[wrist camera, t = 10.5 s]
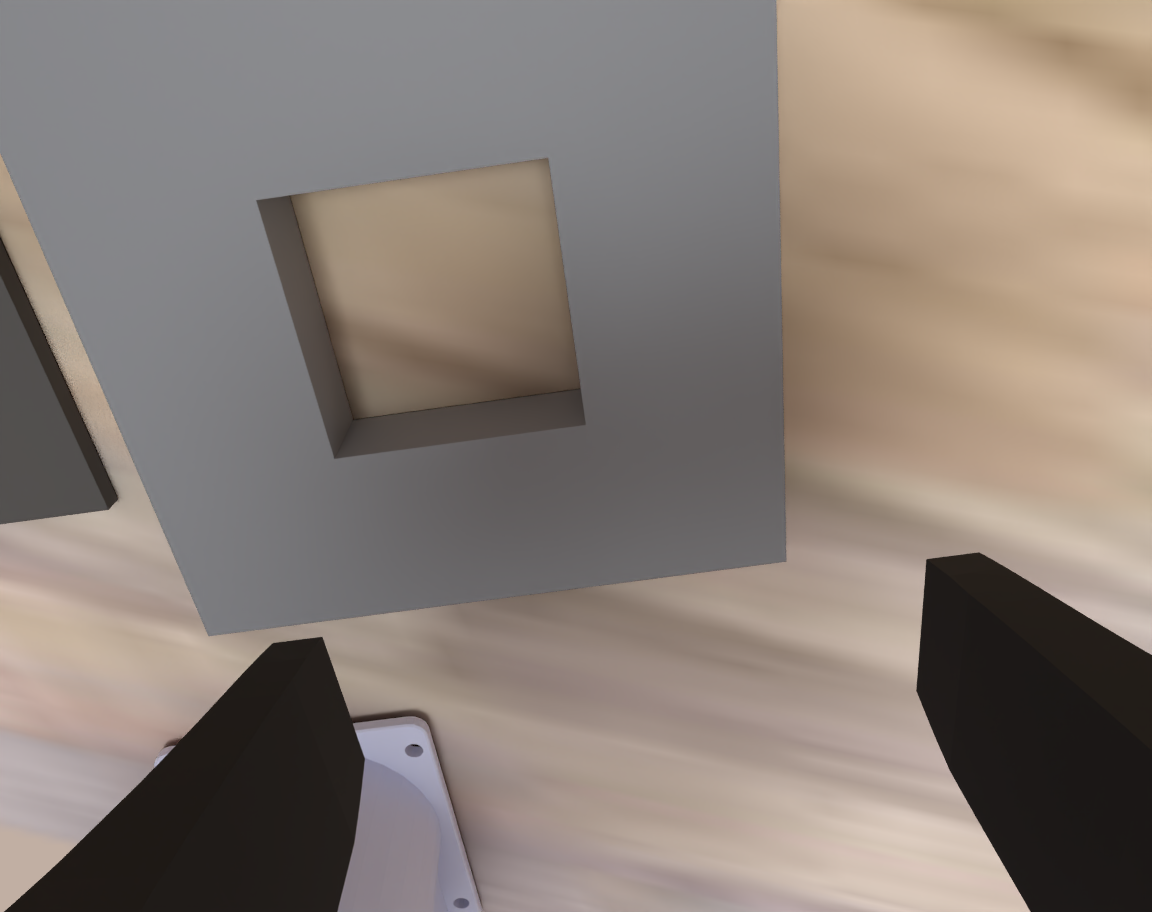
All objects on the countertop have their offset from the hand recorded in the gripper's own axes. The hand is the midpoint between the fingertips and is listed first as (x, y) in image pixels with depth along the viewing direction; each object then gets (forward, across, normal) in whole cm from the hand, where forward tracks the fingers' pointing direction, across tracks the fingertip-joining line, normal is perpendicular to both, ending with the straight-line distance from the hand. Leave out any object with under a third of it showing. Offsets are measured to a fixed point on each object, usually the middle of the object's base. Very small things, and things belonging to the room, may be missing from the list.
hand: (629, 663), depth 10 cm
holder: (+10, +3, -2) cm, 11 cm away
